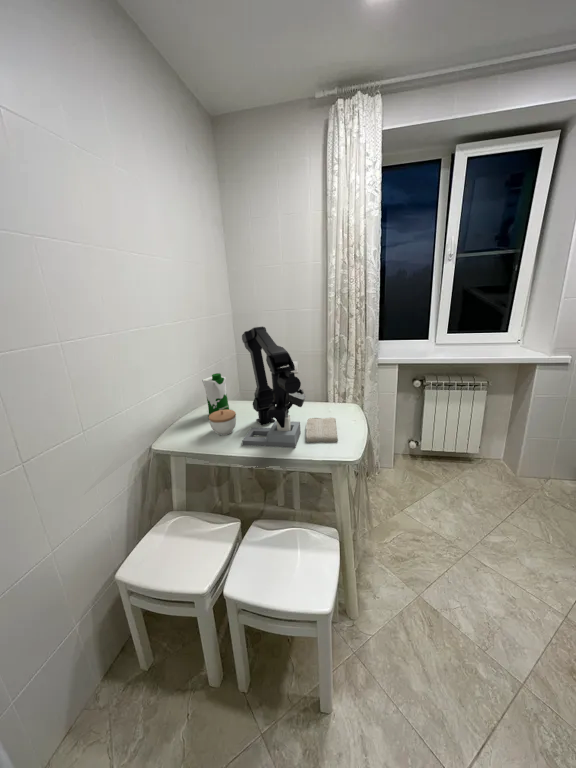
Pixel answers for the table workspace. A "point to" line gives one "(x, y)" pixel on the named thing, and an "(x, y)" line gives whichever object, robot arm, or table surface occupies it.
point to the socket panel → (264, 440)
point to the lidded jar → (223, 421)
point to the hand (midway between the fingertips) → (283, 425)
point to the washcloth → (321, 430)
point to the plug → (287, 424)
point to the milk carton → (216, 393)
